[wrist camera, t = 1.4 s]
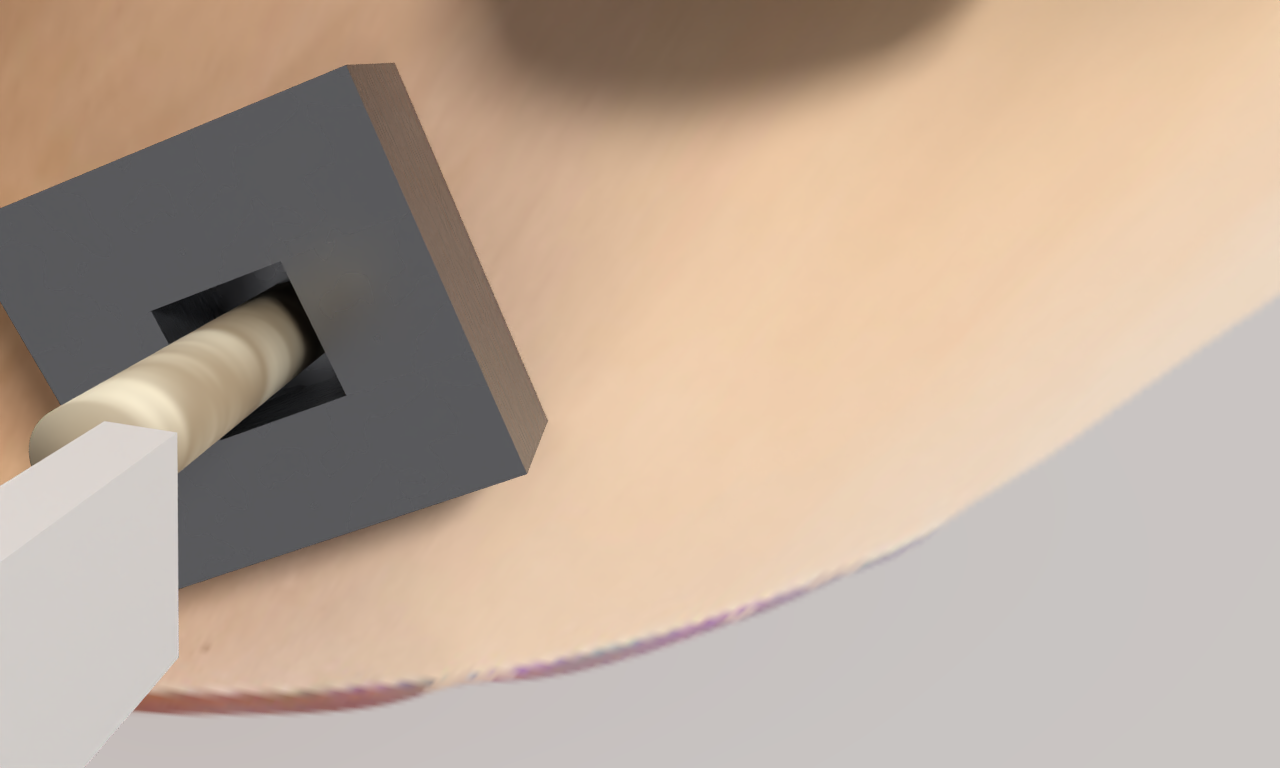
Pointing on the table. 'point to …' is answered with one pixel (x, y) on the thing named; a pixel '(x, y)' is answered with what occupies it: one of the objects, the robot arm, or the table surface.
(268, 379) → the pin
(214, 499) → the mount block
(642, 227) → the table surface
